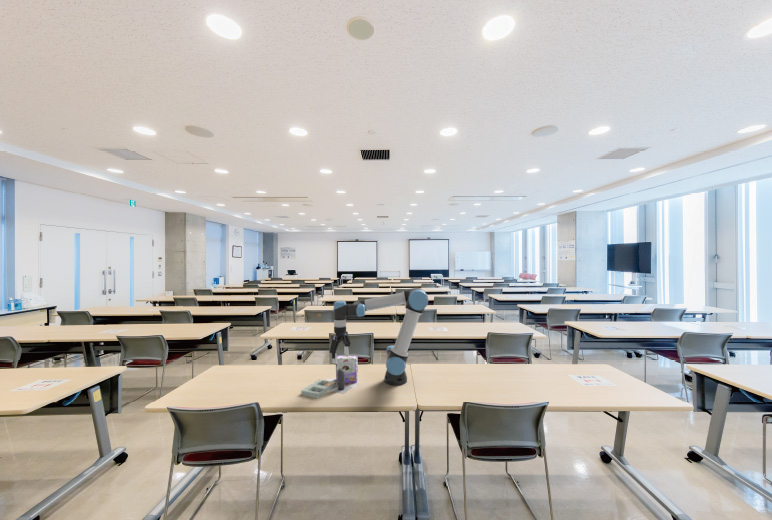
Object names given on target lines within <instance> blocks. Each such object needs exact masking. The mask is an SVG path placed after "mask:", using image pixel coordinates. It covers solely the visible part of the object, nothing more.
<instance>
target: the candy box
mask: <svg viewBox="0 0 772 520" xmlns="http://www.w3.org/2000/svg"><path fill="white" fill-rule="evenodd" d="M358 358H359V357H358V355H349V357H344V355H337V364H335V375H336V376H335V377H336V378H335V379H336V381H335V382H336V383H338V369H344V383H346V384H347V383H350V384H351V383H352V384H354V383H355V384H357V383H358V381H359V366H358V364H359V362H358V361H359V359H358Z"/></svg>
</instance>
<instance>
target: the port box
mask: <svg viewBox="0 0 772 520" xmlns="http://www.w3.org/2000/svg"><path fill="white" fill-rule="evenodd" d="M335 382H336V381H332V380H331V381H330V380H325V379H318V380H316V381H314V382H313V383H311V384H310V385H308V386H306V387H305V388H303V389H301V390H300V391H301V392H300V393H301V396H305V397H311V398H313V399H314V398H315V399H319V398H320V397H322V396H323V395H324V394H326V393H328V392H330V391H331V390H332V389H334V388H335V387H336V383H335Z"/></svg>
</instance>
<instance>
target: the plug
mask: <svg viewBox="0 0 772 520" xmlns="http://www.w3.org/2000/svg"><path fill="white" fill-rule="evenodd" d="M337 386H338V390H344V389H345V386H346V385H345V382H344V369H338V382H337Z"/></svg>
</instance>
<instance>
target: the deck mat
mask: <svg viewBox="0 0 772 520" xmlns="http://www.w3.org/2000/svg"><path fill="white" fill-rule="evenodd" d="M344 386H345V389H344V390H338V385H335V387H333V388H332V389H331V390H330V392H334V393H338V394H343V395H344V394H346V393H347V392H348V391H349V390H351V389H352V388H353V386H347V385H344Z"/></svg>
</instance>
